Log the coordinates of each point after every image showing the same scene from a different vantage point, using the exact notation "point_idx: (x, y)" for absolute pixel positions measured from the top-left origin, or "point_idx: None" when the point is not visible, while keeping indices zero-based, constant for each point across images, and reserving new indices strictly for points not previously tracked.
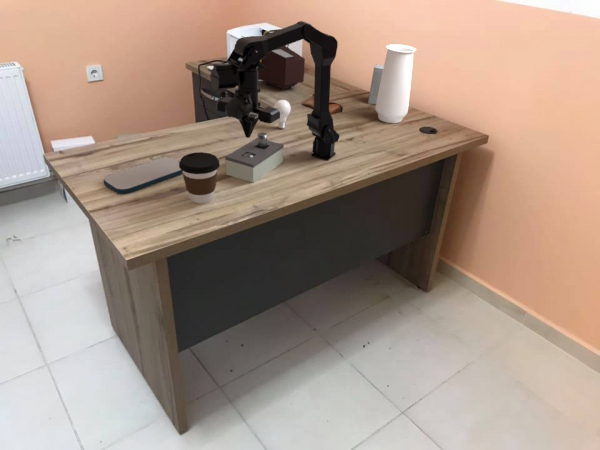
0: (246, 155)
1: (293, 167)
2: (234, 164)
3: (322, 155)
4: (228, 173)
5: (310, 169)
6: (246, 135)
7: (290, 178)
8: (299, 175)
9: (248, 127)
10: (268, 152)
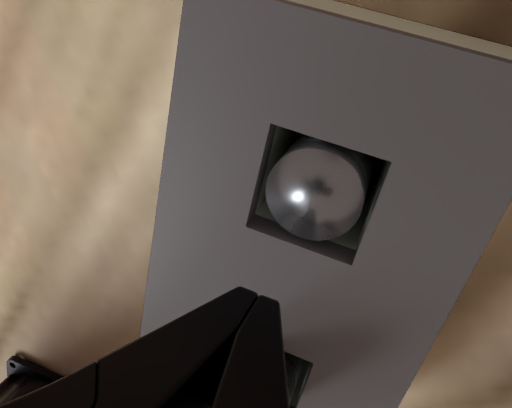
0: (328, 182)
1: (114, 268)
2: (434, 36)
3: (28, 383)
4: (501, 46)
5: (36, 261)
6: (255, 311)
7: (72, 132)
8: (49, 182)
9: (99, 394)
10: (168, 277)
